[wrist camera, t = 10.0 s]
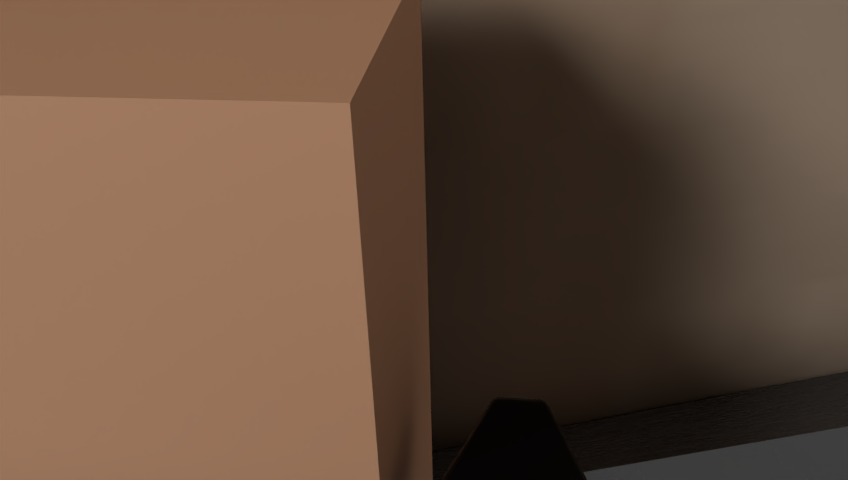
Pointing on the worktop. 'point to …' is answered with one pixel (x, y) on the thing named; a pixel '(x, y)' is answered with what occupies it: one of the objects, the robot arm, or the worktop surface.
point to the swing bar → (213, 241)
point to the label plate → (718, 437)
